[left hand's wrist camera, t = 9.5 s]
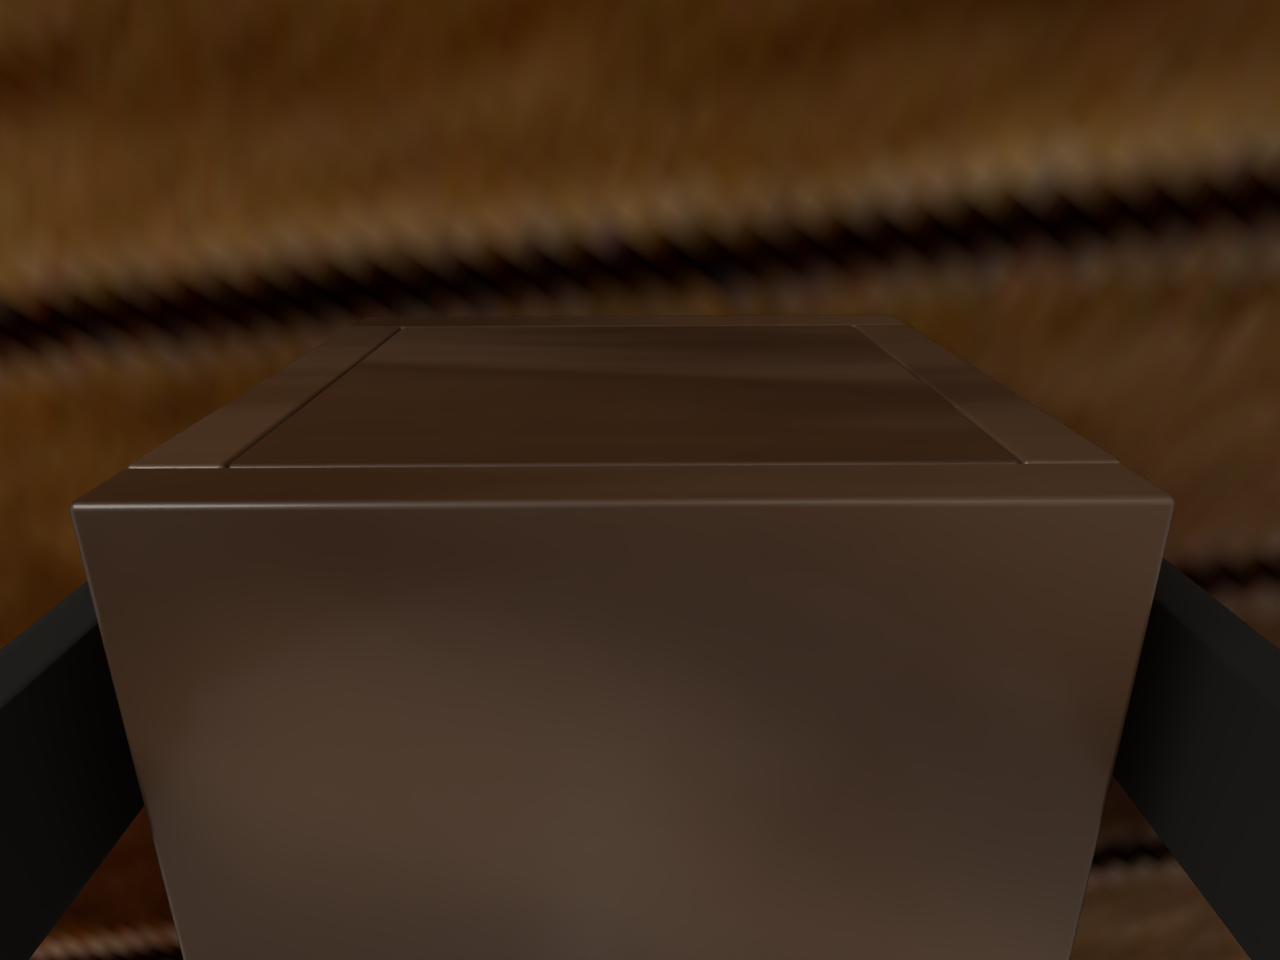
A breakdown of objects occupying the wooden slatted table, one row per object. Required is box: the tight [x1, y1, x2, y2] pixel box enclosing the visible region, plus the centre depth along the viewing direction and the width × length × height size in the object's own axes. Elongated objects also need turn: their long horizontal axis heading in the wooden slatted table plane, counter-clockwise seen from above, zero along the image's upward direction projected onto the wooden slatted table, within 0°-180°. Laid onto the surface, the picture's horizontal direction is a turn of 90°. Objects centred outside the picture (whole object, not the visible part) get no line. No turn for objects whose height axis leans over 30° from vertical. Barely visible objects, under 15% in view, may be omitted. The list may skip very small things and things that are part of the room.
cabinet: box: [70, 315, 1175, 960], centre depth 16 cm, size 18×11×10 cm, turn 0°
